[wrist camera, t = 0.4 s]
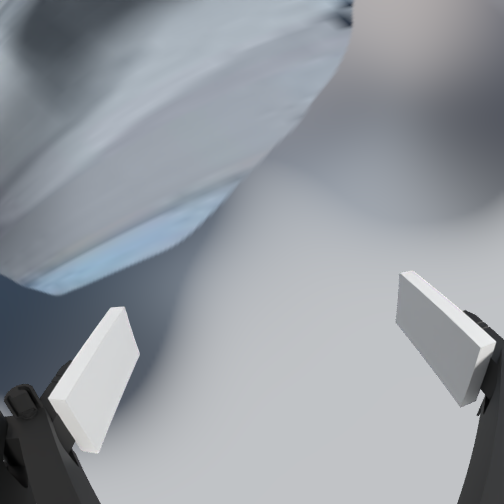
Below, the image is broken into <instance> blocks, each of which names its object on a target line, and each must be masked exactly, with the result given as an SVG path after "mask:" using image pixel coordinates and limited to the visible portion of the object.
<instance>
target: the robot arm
mask: <svg viewBox="0 0 504 504" xmlns="http://www.w3.org/2000/svg"><path fill="white" fill-rule="evenodd" d="M396 323H397V325H398V326H399V327H400V328H401V330H402V331H403V332H404V333H405V335H406V336H407V337H408V338H409V340H410V341H411V342H412V343H413V345H414V346H415V347H416V349H417V350H418V351H419V352H420V354H421V355H422V356H423V358H424V359H425V360H426V362H427V363H428V364H429V365H430V367H431V368H432V369H433V371H434V372H435V373H436V375H437V376H438V377H439V379H440V380H441V381H442V382H443V384H444V385H445V387H446V388H447V390H448V391H449V392H450V394H451V395H452V396H453V398H454V399H455V401H456V402H457V403H458V404H459V406H460V407H463V406H465V405H468V404H470V403H472V402H475V401H476V399H477V396H478V394H479V391H480V389H481V390H482V391H483V393H484V394H485V397H484V399H483V402H482V404H481V406H480V409H479V411H478V413H477V416H479V415H480V420H479V425H478V430H477V435H476V439H475V444H474V448H473V452H472V456H471V460H470V464H469V468H468V472H467V475H466V478H465V482H464V485H463V488H462V491H461V494H460V497H459V500H458V503H457V504H504V340H503V338H501V337H500V336H499V335H498V334H497V333H496V332H495V331H494V330H492V329H491V328H490V327H488V325H487V324H486V323H484V322H482V320H481V319H480V318H479V317H477V316H476V315H475V314H472V313H470V312H468V311H466V310H465V311H461V310H460V309H459V308H458V307H457V306H456V305H454V304H453V303H452V302H451V301H450V300H448V299H447V298H446V297H445V296H444V295H442V294H441V293H440V292H439V291H438V290H436V289H435V288H434V287H433V286H431V285H430V284H429V283H428V282H427V281H425V280H424V279H423V278H422V277H420V276H419V275H418V274H417V273H415V272H414V271H407V272H401V273H400V274H399V290H398V303H397V315H396ZM139 355H140V354H139V351H138V348H137V345H136V342H135V339H134V336H133V333H132V329H131V327H130V323H129V320H128V317H127V313H126V310H125V307H115V308H110V309H109V311H108V312H107V313H106V315H105V316H104V317H103V319H102V320H101V322H100V323H99V324H98V326H97V327H96V328H95V330H94V331H93V333H92V334H91V335H90V337H89V338H88V340H87V341H86V342H85V344H84V345H83V347H82V348H81V350H80V351H79V353H78V354H77V355H76V357H75V358H74V360H73V361H68V362H67V363H66V364H65V365H63V366H62V367H61V368H60V369H59V371H58V372H57V374H56V377H54V378H53V380H52V383H50V384H49V386H48V387H47V389H46V390H45V391H44V393H43V394H42V396H41V397H40V399H39V397H38V396H37V394H36V392H35V390H34V389H33V387H32V386H31V385H29V384H22V385H18V386H16V387H14V388H12V389H11V390H10V391H9V392H8V393H7V394H6V396H5V399H4V402H5V403H6V405H7V407H8V408H9V409H10V411H11V413H12V414H13V416H8V417H4V416H3V414H2V413H1V411H0V504H101V503H100V502H99V500H98V498H97V496H96V494H95V492H94V490H93V489H92V487H91V485H90V483H89V481H88V479H87V477H86V475H85V473H84V471H83V469H82V467H81V464H80V462H79V460H78V458H77V456H76V454H75V452H74V451H73V450H72V447H73V444H74V442H76V443H77V445H78V446H79V448H80V449H81V450H82V451H85V452H92V453H99V451H100V449H101V446H102V444H103V441H104V439H105V436H106V434H107V431H108V429H109V426H110V424H111V421H112V419H113V416H114V414H115V411H116V409H117V406H118V404H119V402H120V399H121V396H122V394H123V392H124V389H125V387H126V385H127V382H128V380H129V378H130V375H131V373H132V371H133V369H134V366H135V364H136V362H137V359H138V357H139ZM480 413H481V414H480Z"/></svg>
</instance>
